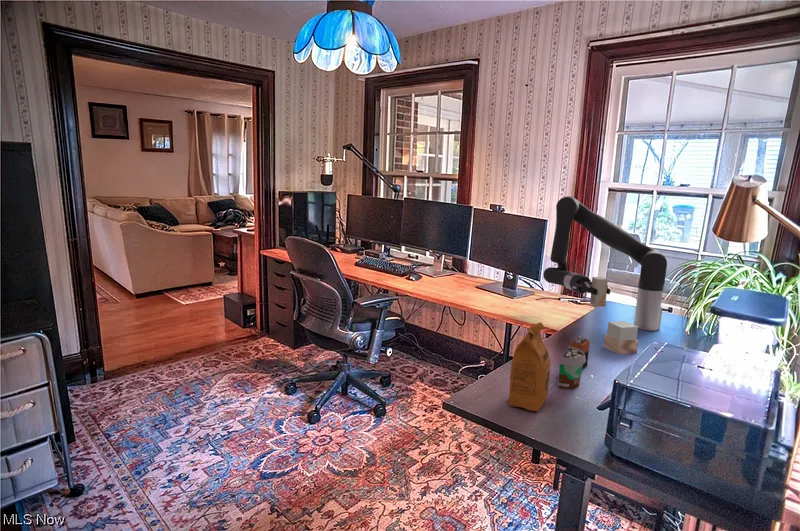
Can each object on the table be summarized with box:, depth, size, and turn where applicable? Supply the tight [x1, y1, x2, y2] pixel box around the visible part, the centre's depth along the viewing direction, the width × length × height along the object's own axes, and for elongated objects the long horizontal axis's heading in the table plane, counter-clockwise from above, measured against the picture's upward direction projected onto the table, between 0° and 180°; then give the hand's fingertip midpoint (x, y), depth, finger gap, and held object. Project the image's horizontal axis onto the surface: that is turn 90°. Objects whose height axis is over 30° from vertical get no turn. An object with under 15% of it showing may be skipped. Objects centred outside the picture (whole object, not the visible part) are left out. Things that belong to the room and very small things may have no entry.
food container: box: [557, 345, 586, 390], centre depth 136 cm, size 12×6×10 cm, turn 148°
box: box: [589, 276, 609, 308], centre depth 179 cm, size 5×4×11 cm
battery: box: [569, 335, 590, 370], centre depth 150 cm, size 4×7×10 cm, turn 138°
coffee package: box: [507, 322, 552, 412], centre depth 123 cm, size 10×12×22 cm
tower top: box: [606, 320, 639, 341], centre depth 167 cm, size 7×7×5 cm
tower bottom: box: [603, 333, 639, 355], centre depth 168 cm, size 8×8×5 cm
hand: (603, 291), depth 177 cm, fingers closed on box, 5 cm apart
